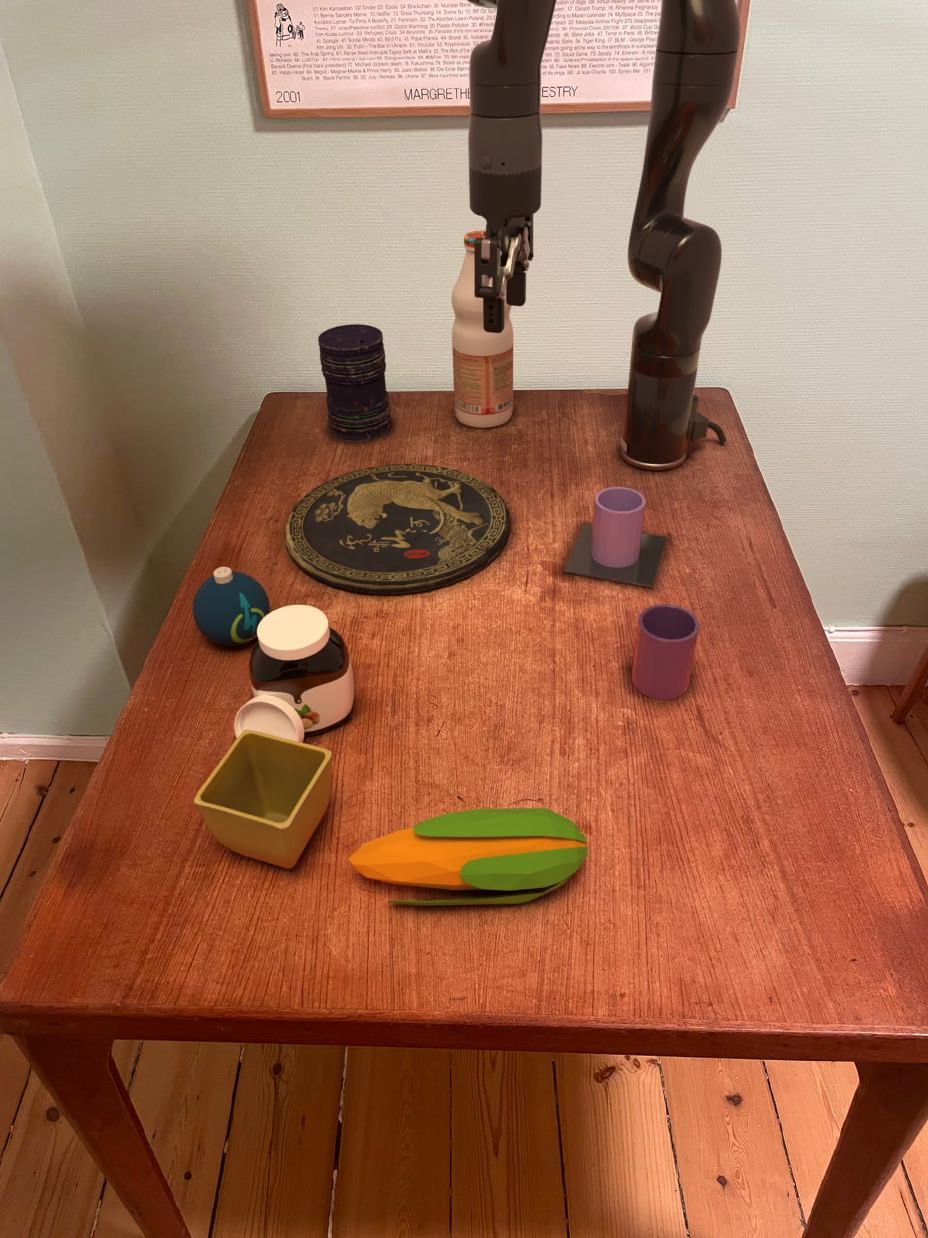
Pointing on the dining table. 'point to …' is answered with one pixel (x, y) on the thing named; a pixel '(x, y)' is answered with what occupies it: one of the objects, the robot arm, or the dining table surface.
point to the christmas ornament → (230, 607)
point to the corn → (478, 854)
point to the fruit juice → (479, 354)
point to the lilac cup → (617, 526)
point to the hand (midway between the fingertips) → (505, 317)
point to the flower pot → (267, 797)
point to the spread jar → (297, 676)
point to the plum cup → (664, 651)
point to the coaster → (634, 574)
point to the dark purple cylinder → (355, 382)
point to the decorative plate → (397, 529)
